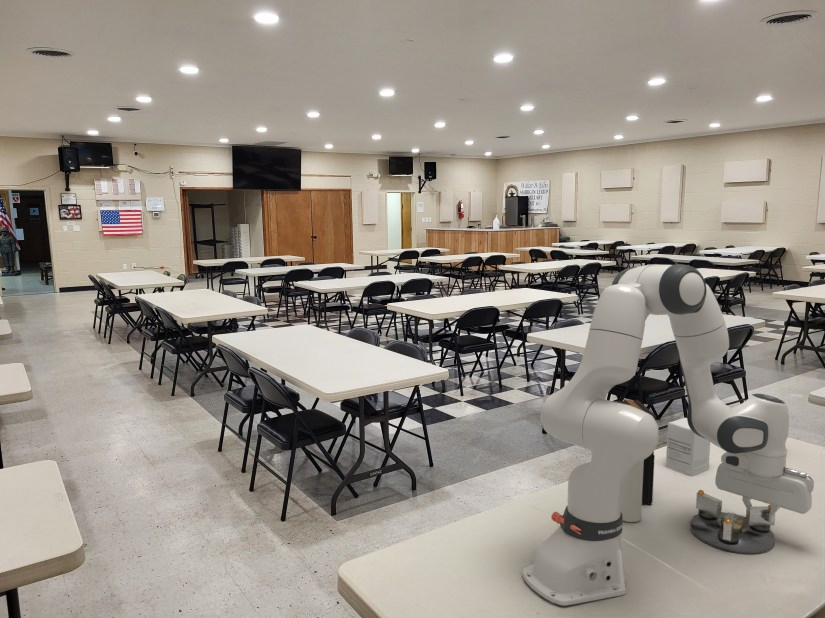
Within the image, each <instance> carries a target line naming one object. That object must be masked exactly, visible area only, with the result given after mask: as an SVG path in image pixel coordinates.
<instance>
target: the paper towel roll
mask: <svg viewBox="0 0 825 618" xmlns="http://www.w3.org/2000/svg"><path fill="white" fill-rule="evenodd" d="M643 465H644V460H642V461H640V462H638V463H636V464H635V465H634V466H633V467H632V468H631V469H630V470H629V472H628V473H627V475H626V477H625V480H624V483H623V490H622V500H621V513H622V515H623V522H628V523H637V522H639V521H641V519H642V509H643V507H642V504H643V503H642V487H643Z"/></svg>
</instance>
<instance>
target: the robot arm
mask: <svg viewBox="0 0 825 618" xmlns="http://www.w3.org/2000/svg"><path fill="white" fill-rule="evenodd" d="M650 315H654V316H666V315H667V316H668V318H669V322H670V326H671V330H672V334H673V337H674V340H675V343H676V347H677V350H678V354H679V362H680V368H681V372H682V373H681V374H682V376H683V377H682V378H683V382H684V385H685V390H686V394H687V403H688V404H687V413H686V414H687V415H686V418H687V421H688V425H689V427H690V429H691V430H692V431H693V432H694V433H695V434H696V435H698V436H700V437H702V438H704V439H707V440H708V441H710V444H713V445H715V446H717V447H718V448H720V449H721V450H723V451H724V453H723V454H722V455H721V458H720V459H721V460H720V461H721V463H720V464H719V465H718V467H717V469H716V474H715V482H714V483H715V486H716V488H717V489H718V490H720V491H724V492H727V493H730V494H734V495H738V496H741V497H742V499H741V500H742V502H743V504H744V506H745V508H746V509H747V507H753V505H752V503H751V500H754V501H757V502H762V503H765V504H768V505H770V504H771V509H773V510H772V511H771V512H766V513H765V518H764V520H766V521H769V522H772V521H773V519H774V514H775V515H776V513H777V512H778V511H779V509H780V508H782V509H783V510H788V511H790V512H791V511H792V512H794V513H798V514H802V515H805V514H807V513H808V512H810V511H811V509H812V507H813V506H812V505H813V500H812V499H813V497H812V492H813V491H814V486H815V482H814V479H813V478H812V477H811V476H810V475H808V473H806V472H804V471H798V470H796V469H792V468H789V467H787V466H786V465H787V455H788V453H787V448H786V443H787V440H788V438H789V430H790V415H789V414H790V413H789V408H788V405H787V404H786V402H785V401H784V400H781V399H780V398H778V397H775V396H771V395H768V394H763V393H752V394H750V397H748V399H746V400H745V401H744V402H742V403H740V404H738V405H735V406H732V407H731V406H729V405H727V404H725V402H723V400H721V399H720V398H719V397H718V395H717V393H716V391H715V390H716V389H715V384H714V380H713V376H712V371H711V365H712V364H713V363H715V362H718V361H719V360H721V359H722V358H724V356H725V355H726V354H727V352H728V350H729V349H730V336H729V332H728V331H729V330H728V327H727V324H726V321H725V318H724V315H723V312H722V310H721V307H720V304H719V303H718V300H717V299H716V296H715V294H714V292H713V291H712V289H711V287H710V286H709V284H707V283H706V281H705V278H704V276H703V274H702V273H701V272H700V270H698V269H697V268H695V267H694V266H691V265H688V264H683V263H682V264H681V263H677V264H676V263H675V264H659V263H658V264H657V263H655V264H652V263H651V264H647V265H646V264H645V265H640V266H631V267H628V268H624V270H621V271H619V272H618V273H617V274H616V275H615V277H614V278H613V280H612V283H611V285H609V286H607V287H606V288H604V289H603V291H602V292H601V293H600V296H599V299H598V300H597V304H596V305H595V308H594V311H593V314H592V317H591V322H590V326H589V330H588V336H587V338H586V343H585V348H584V351H583V355H582V358H581V361H580V364H579V366H578V368H577V370H576V371H575V374H574V375H572V378H571V379H570V380H569V382H567V384H565V385H564V386H563V387H562V388H560V389H559V390H558V391H555V392H553V393H552V394H550V395H549V396H548V397H547V398H546V399H545V401H544V402H543V405H542V407H541V409H540V410H541V411H540V421H541V425H542V428H543V430H544V431H545V432H546V433H547V434H549V435H551V436H552V437H554V438H556V439H557V440H560V441H562V442H564V443H567V444H571V445H573V446H577V447H579V448H584V449H588V450H589V451H590V453H591V459H590V461H589V462H585V463H581V464H579V465H576V467H575V468H573V469H572V471H571V472H570V473H569V476H568V477H567V479H568V480H567V505H566V507H565V509H564V511H563V513H562V514H560V512H558V511H554V512H552V514H551V517H550V518H551V520H552V521H553V522H555V523H556V524H558V525H559V526H558V527H557V528H556V529H555V530H554V531H553V532H552V534H550V536H549V537H547V538H546V539H545V540H544V541H543V542H542V543H541V544H540V545H539V546H538V547H537V549H536V550H535V554H534V559H533V563H531V564H529V565H527V566H525V567H524V568H523V569H522V573H521V574H522V578H523V580H524V581H525V582H526V584H527V585H528V586H529V587H530V588H531V589H532V590H533V591H534V592H536V593H537V594H538V595H539V596H541V597H543V598H544V599H545V600H547V601H549V602H552V603H554V604H556V605H559V606H562V607H563V606H570V605H577V604H581V603H586V602H587V603H588V602H593V601H599V600H603V599H607V598H613V597H619V596H625V595H626V593H627V588H626V584H625V583H626V581H627V574H626V571H625V568H624V567H625V566H624V559H623V551H622V540H621V534H622V532H623V526H624V521H623V515H622V513H621V500H622V490H623V483H624V480H625V477H626V475H627V473H628V472H629V470H630V469H631V468H632V467H633V466H634V465H635V464H636V463H638V462H640V461H642V460H644V459H646V458H647V457H649V456H650V455H651V454H652V453H653V452H654V453H655V450H656V449H657V447H658V443H659V441H660V430H659V427H658V426H659V425H658V423H657V420H656V421H655V419H654V417H653V416H652V415H650V414H648V413H646V412H644V411H642V410H640V409H637V408H635V407H633V406H630V405H626V404H622V403H617V402H615V401H612V400H608V399H606V398H607V396H608V394H609V392H610V390H612V389H613V388H614V387H615V386H617V385H620V384H623V383H626V382H628V381H629V380H631V379H633V377H634V376H635V375H636V373H637V368H638V364H639V359H640V353H641V348H642V344H643V339H644V336H645V335H644V333H645V327H646V320H647V319H648V317H649V316H650Z"/></svg>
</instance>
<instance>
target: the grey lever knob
mask: <svg viewBox="0 0 825 618" xmlns="http://www.w3.org/2000/svg"><path fill="white" fill-rule="evenodd" d="M772 510H773V509H771V504H768V505H767V506H763V505H762V506H761V505H760V506H759V505H758V506H752V507H747V508H746V510H745V517H746V523H747V524H748V525H749V528H750V529H752V530H753V531H756V532H759V533H768V532H770V530H771V526H775V521H776V513H775V514H774V519H773V521H772V522H769V521H766V520H764V518H765V513H766V512H771V511H772Z"/></svg>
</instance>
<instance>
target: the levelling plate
mask: <svg viewBox="0 0 825 618" xmlns="http://www.w3.org/2000/svg"><path fill="white" fill-rule="evenodd" d="M734 514H735V522H734V531H733V532H735V533H737V534H738V535H739V542H738V543H737V544H728V543H724V542H722V541H720V540H719V539H718V531H719V530H723V528H724V521H725V518H726V515H727V512H726V511H721V516H720V517H718V519H717V520H715V521H709V520H705V519H702V518H700V517H699V515H698V513H697V514H696V515H693V516H692V517H691V519H690V521H689V522H690V524H689V526H690V528H689V530H690V531H691V532H690V533H691V534H692V535H693V536H694V537H695V538H696V539H698V540H699V541H700V542H702V543H703V544H705V545H708V546H710V547H713V548H714V549H717V550H719V551H724V552H728V553H731V554H732V553H733V554H740V555H761V554H766V553H768V552H771V550H772V549H773V548H774V547H775V534H774V533H773V531H771V529H770V532H768V533H759V532H756V531H753V530H752V529H750V528H749V525H748V524H747V523H746V516H745V515H740V514H736V513H734Z"/></svg>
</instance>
